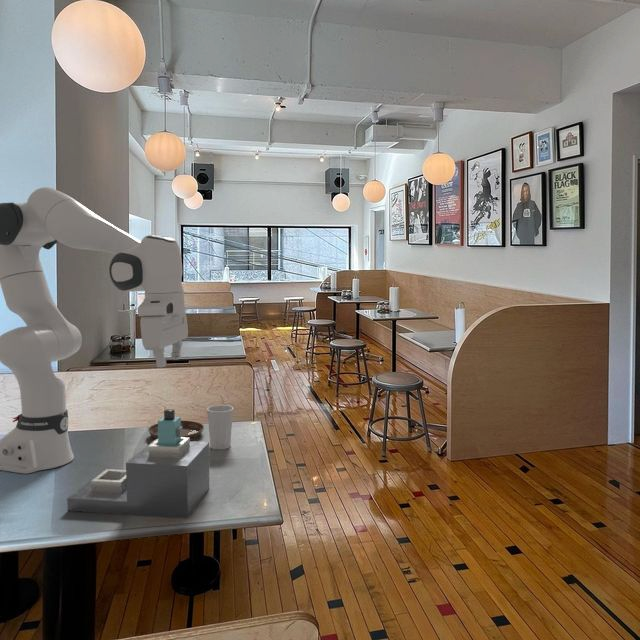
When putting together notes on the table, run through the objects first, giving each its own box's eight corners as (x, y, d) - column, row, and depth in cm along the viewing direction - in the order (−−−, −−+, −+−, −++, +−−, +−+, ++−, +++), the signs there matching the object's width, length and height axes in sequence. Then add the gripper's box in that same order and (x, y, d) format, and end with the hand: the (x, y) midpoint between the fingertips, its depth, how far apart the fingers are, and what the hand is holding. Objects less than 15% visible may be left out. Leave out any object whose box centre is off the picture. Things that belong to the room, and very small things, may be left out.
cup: (238, 445, 166) (238, 407, 165) (221, 452, 159) (220, 413, 158) (219, 440, 170) (219, 403, 169) (201, 447, 163) (201, 409, 162)
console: (67, 511, 120) (65, 449, 119) (102, 482, 136) (101, 427, 134) (187, 518, 118) (187, 454, 116) (209, 488, 133) (208, 432, 132)
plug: (158, 454, 123) (157, 412, 122) (164, 448, 127) (164, 407, 126) (178, 455, 123) (177, 413, 122) (184, 449, 127) (183, 408, 126)
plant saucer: (202, 426, 185) (202, 418, 185) (205, 443, 168) (205, 433, 168) (149, 430, 180) (149, 421, 180) (147, 447, 163) (147, 437, 163)
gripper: (168, 301, 135) (171, 355, 136) (133, 309, 115) (138, 371, 116) (192, 301, 134) (195, 354, 136) (162, 308, 114) (166, 371, 116)
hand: (169, 362), depth 126 cm, fingers open, 8 cm apart
